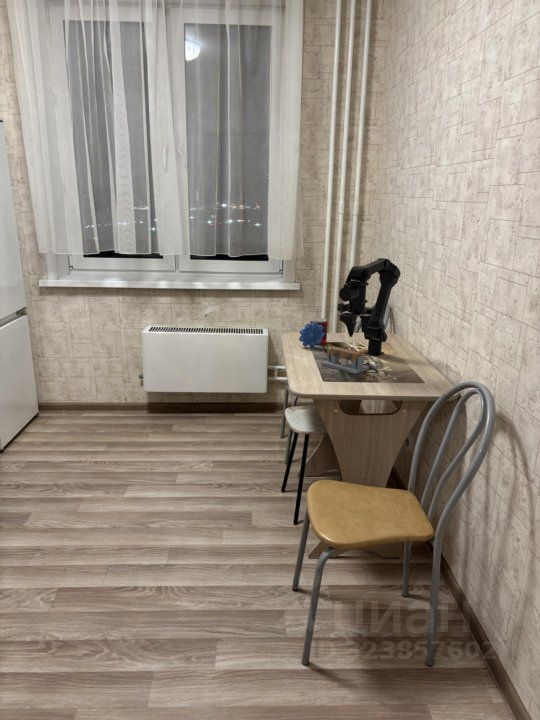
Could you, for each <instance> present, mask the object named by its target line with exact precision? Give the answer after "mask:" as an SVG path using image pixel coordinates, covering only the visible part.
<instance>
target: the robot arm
mask: <svg viewBox="0 0 540 720" xmlns="http://www.w3.org/2000/svg"><path fill="white" fill-rule="evenodd" d="M376 273H377V274H378V275H379V277H378V281H379V283H380V287H379V291H378V294H377V298H376V302H375V305H374V307H369V306H366V304H367V303H368V299H367V298H366V297H367V287H368V286H369V282H367V281H369V280H370V279H371V278H372V277H371V276H373V275H374V274H376ZM401 273H402V272H401V270H400V268H399V267H398V266H397V265H396V264H394V263H393V262H392V261H391V260H390V259H388V258H385V257H383V258H382V257H379V258H377V259H375V260H373V261H371V262H369V263H367V264H365V265H353V266H351V269H350V270H349V272H348V275H347V277H346V279H345V283H344V284H343V287H341V289H340V290H339V292H338V296H339V298H340V300H341V301H343V302H340V303H337V308H336V310H337V311H338V312H339V313H340V315H339V317H338V318H339V319H338V320H339V321H340V322H341V323H343V324H345V326H346V329H347V333H348V336H349V338H353V336H354V333H355V329H356V326H357V319H358V317H359V319H360V322H361V323H360V324H361V325H360V329H361V332H362V333H363V338H364V340H368V343H367V351H364V354H365V355H371V356H374V357H376V356H377V357H378V356H380V355H384V354H385V351H383V350H382V348H383V343H386V342H387V340H388V335H387V332H386V331H385V328H386V326H385V325H386V324H385V323H384V318H385V314H386V310H387V306H388V302H389V301H390V300H389V299H390V295H391V292H392V289H393V288H394V287H395V286H396V285H397V284H398V281H399V279H400V277H401ZM344 302H345V303H344ZM346 302H347V303H346Z"/></svg>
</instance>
